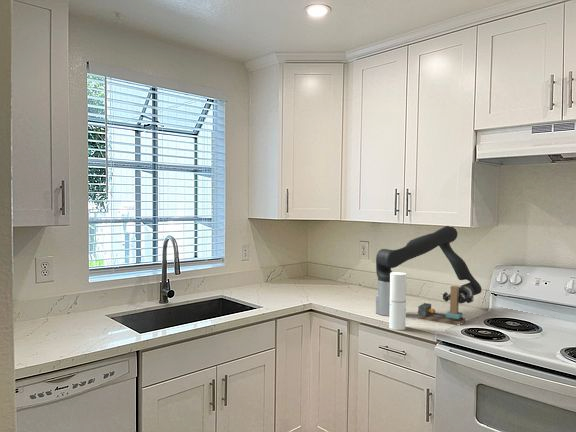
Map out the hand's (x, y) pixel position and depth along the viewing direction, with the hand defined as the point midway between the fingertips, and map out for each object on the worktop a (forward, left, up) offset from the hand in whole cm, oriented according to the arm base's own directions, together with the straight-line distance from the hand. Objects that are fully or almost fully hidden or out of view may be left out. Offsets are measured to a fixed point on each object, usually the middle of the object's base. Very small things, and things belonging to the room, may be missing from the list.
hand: (453, 300), depth 203 cm
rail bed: (-6, +2, -11) cm, 13 cm away
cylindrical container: (-18, -24, -11) cm, 32 cm away
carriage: (0, +2, -8) cm, 9 cm away
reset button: (-11, +2, -9) cm, 14 cm away
